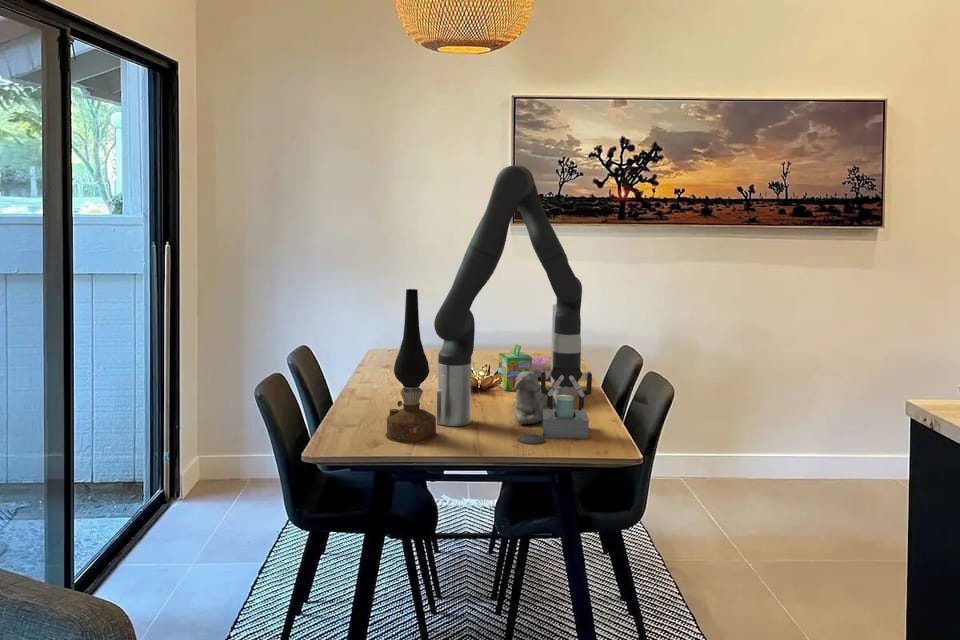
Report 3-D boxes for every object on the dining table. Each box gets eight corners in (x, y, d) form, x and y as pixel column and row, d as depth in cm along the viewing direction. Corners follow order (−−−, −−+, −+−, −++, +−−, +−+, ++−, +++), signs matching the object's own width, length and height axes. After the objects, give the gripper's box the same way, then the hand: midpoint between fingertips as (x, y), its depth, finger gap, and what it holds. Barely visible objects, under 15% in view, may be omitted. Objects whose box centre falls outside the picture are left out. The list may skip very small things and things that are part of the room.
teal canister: (556, 434, 229) (557, 398, 228) (555, 430, 234) (556, 394, 233) (573, 435, 229) (574, 398, 228) (572, 430, 234) (573, 395, 232)
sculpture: (510, 426, 238) (511, 373, 236) (523, 409, 258) (524, 360, 256) (549, 429, 235) (550, 375, 233) (559, 411, 256) (560, 362, 254)
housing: (542, 437, 226) (543, 419, 225) (542, 426, 238) (542, 408, 237) (588, 439, 225) (588, 420, 224) (585, 427, 237) (585, 410, 236)
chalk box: (497, 386, 290) (497, 343, 288) (522, 384, 292) (523, 342, 290) (505, 391, 281) (506, 347, 279) (531, 390, 284) (532, 346, 282)
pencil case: (561, 376, 309) (562, 351, 307) (568, 381, 300) (569, 356, 298) (503, 377, 305) (504, 352, 304) (508, 382, 296) (509, 357, 295)
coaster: (517, 443, 220) (517, 441, 220) (518, 436, 227) (518, 434, 227) (544, 444, 219) (545, 442, 219) (544, 437, 226) (544, 435, 226)
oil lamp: (445, 449, 226) (479, 303, 222) (401, 449, 215) (436, 297, 212) (412, 432, 236) (444, 292, 232) (369, 432, 225) (402, 285, 221)
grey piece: (572, 411, 256) (575, 312, 252) (545, 409, 257) (547, 311, 253) (578, 386, 291) (581, 299, 287) (554, 385, 293) (556, 299, 289)
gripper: (540, 351, 225) (539, 412, 227) (594, 352, 224) (592, 413, 226) (540, 346, 232) (539, 405, 235) (592, 348, 232) (591, 406, 234)
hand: (565, 409), depth 231 cm, fingers open, 7 cm apart
